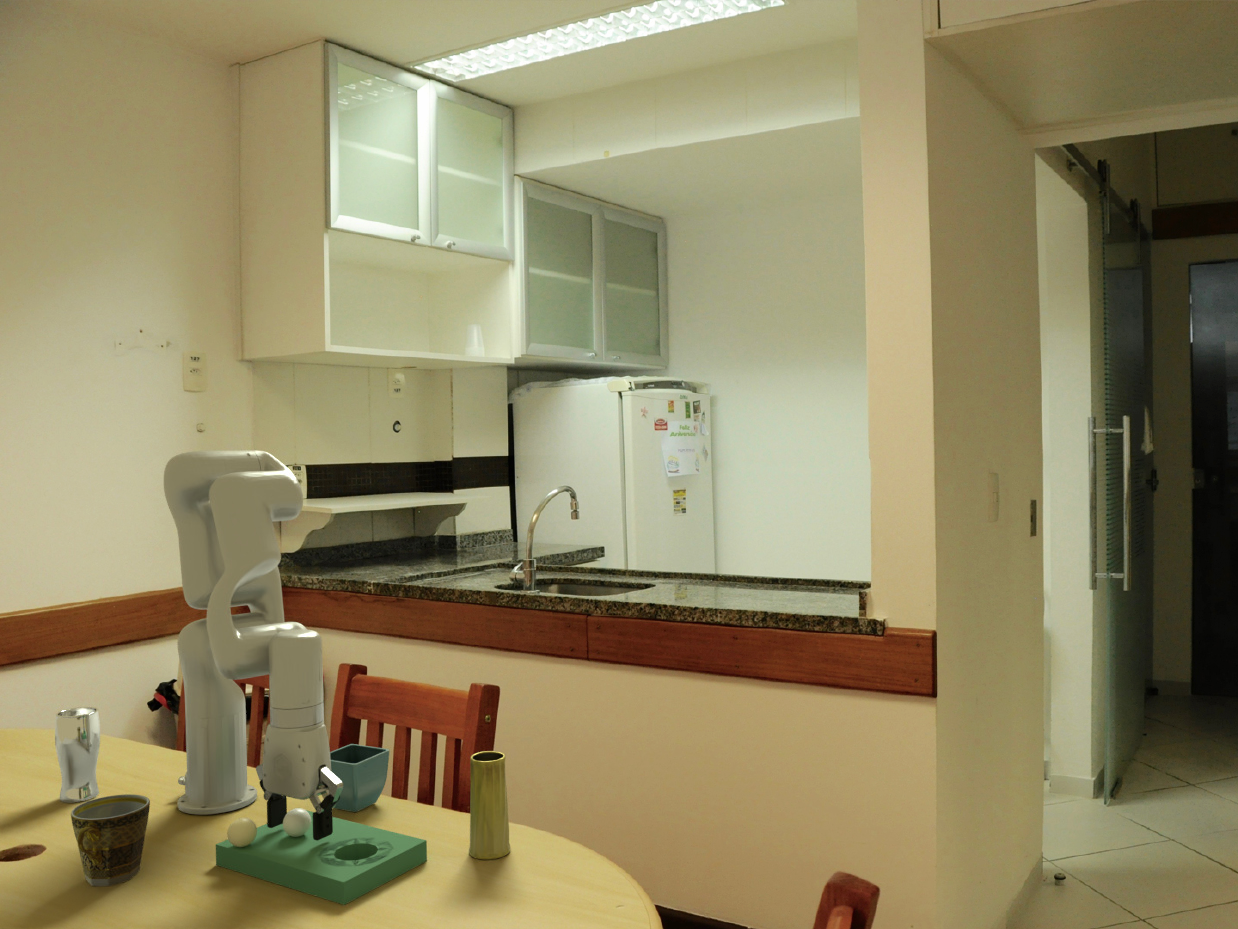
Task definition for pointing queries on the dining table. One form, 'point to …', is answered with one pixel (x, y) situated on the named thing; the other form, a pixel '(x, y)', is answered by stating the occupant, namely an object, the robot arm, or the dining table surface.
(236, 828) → the yellow ball
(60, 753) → the beer glass
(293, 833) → the white ball
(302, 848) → the putting mat
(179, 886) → the dining table surface
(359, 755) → the flower pot
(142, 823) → the ceramic cup
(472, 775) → the vase
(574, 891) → the dining table surface
